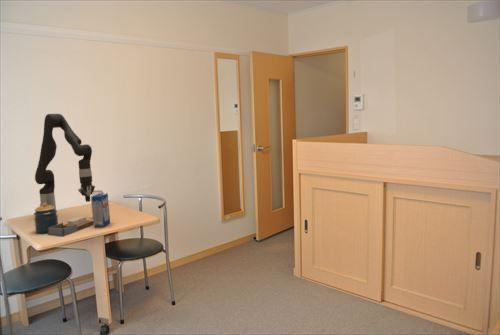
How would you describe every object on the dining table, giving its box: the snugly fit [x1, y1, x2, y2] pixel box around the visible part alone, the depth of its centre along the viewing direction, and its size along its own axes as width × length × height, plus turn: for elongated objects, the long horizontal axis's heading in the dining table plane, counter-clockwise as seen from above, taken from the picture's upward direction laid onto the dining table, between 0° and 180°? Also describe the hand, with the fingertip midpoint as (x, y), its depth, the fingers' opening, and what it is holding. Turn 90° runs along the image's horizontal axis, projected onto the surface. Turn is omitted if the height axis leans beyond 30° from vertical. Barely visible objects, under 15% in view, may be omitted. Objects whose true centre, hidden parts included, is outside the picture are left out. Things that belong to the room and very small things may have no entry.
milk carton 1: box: [90, 189, 104, 219], centre depth 275 cm, size 7×7×19 cm
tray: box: [47, 222, 78, 237], centre depth 242 cm, size 12×11×4 cm
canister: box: [33, 203, 59, 234], centre depth 247 cm, size 13×13×18 cm
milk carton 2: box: [91, 192, 111, 229], centre depth 254 cm, size 10×6×20 cm, turn 178°
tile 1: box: [66, 218, 80, 226], centre depth 250 cm, size 5×5×3 cm
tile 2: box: [73, 216, 87, 224], centre depth 255 cm, size 5×5×3 cm
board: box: [63, 219, 94, 232], centre depth 254 cm, size 12×14×2 cm
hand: (88, 201), depth 261 cm, fingers closed
